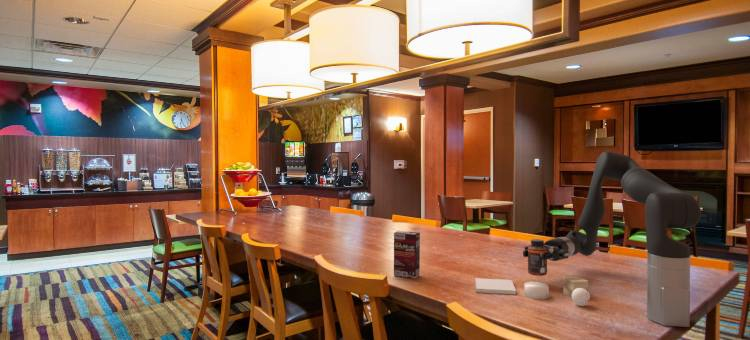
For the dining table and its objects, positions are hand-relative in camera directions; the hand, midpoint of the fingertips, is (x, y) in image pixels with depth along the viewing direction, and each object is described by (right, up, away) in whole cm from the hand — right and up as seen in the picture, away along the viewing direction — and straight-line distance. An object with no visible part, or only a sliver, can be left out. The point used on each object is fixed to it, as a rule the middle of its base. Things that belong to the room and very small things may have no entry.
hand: (533, 255), depth 141 cm
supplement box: (-40, -11, +15) cm, 44 cm away
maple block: (+10, -11, -8) cm, 17 cm away
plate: (-13, -11, 0) cm, 17 cm away
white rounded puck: (-2, -11, -8) cm, 14 cm away
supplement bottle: (+2, -7, +2) cm, 7 cm away
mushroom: (+7, -11, -17) cm, 22 cm away
